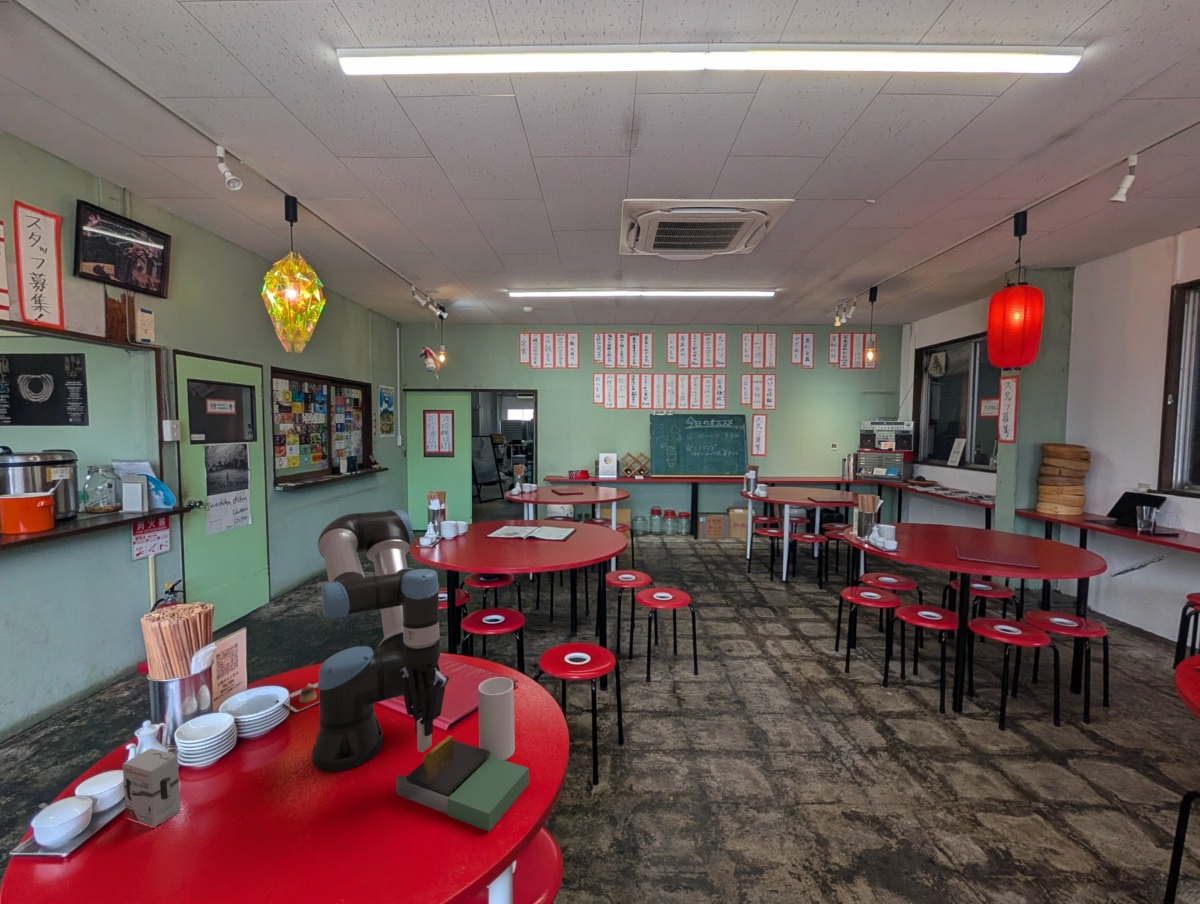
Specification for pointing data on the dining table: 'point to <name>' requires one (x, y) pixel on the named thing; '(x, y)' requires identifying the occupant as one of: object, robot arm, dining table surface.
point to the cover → (447, 765)
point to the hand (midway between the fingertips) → (424, 748)
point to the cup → (496, 717)
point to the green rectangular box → (488, 793)
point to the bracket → (424, 793)
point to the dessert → (305, 695)
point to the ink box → (151, 787)
